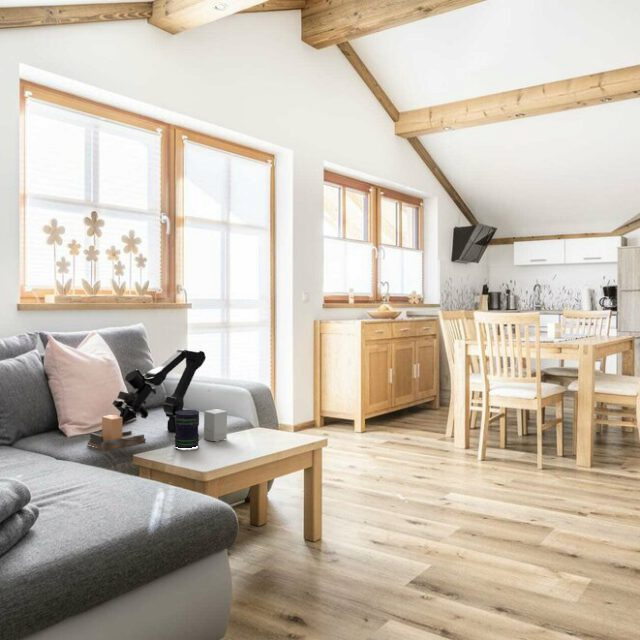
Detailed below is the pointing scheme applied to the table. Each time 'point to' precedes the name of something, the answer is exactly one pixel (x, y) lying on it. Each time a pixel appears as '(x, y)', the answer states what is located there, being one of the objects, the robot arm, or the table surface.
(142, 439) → the walnut chute
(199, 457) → the table surface
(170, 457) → the table surface
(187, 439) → the storage jar
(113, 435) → the terracotta block
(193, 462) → the table surface
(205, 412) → the supplement box
